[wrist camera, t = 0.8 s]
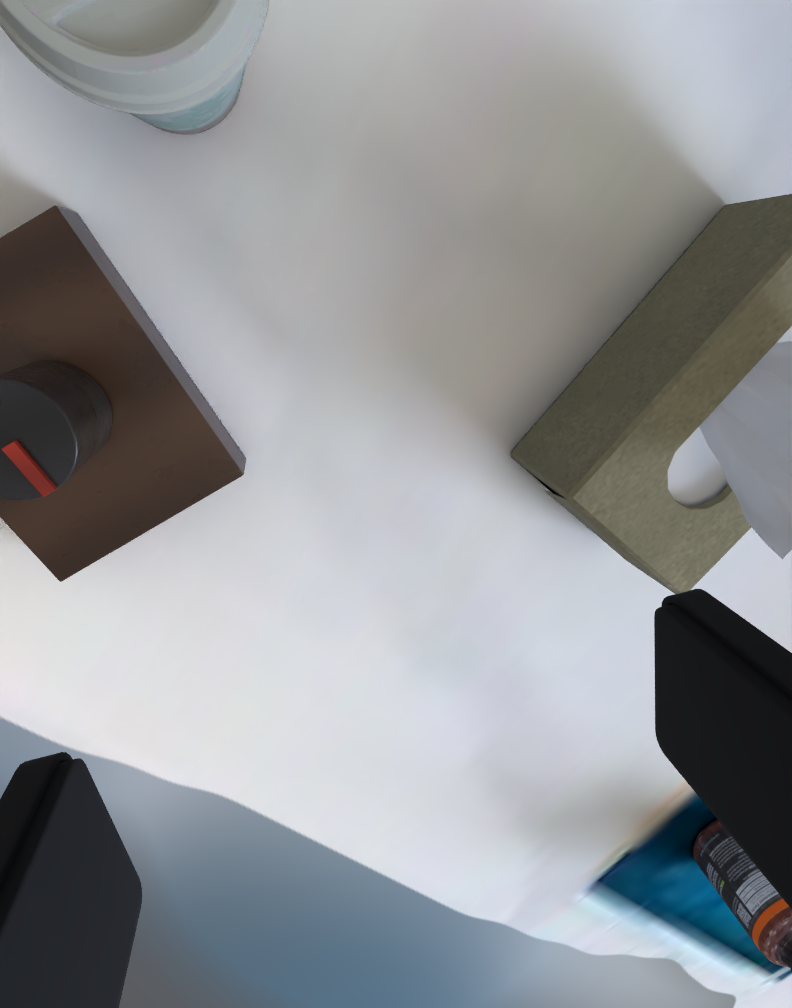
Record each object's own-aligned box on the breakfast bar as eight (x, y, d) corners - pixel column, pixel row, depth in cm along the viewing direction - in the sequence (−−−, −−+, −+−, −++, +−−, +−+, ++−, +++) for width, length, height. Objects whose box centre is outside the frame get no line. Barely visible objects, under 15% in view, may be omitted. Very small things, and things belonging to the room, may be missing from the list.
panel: (-124, 331, 28) (-167, 337, 25) (77, 212, 28) (55, 204, 25) (78, 557, 34) (60, 582, 31) (246, 458, 33) (244, 474, 31)
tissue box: (604, 543, 40) (794, 696, 25) (504, 457, 36) (656, 576, 22) (816, 315, 37) (1170, 338, 22) (729, 197, 33) (1080, 134, 19)
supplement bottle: (758, 839, 54) (874, 974, 43) (701, 873, 54) (802, 1016, 43) (740, 800, 51) (858, 933, 41) (680, 836, 52) (782, 977, 41)
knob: (-25, 394, 27) (-99, 422, 22) (66, 340, 27) (14, 355, 22) (49, 480, 29) (-3, 525, 24) (134, 430, 29) (102, 464, 24)
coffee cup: (65, 137, 27) (-83, 39, 16) (77, -97, 24) (-90, -409, 13) (258, 190, 29) (246, 136, 18) (288, -20, 26) (295, -234, 15)
